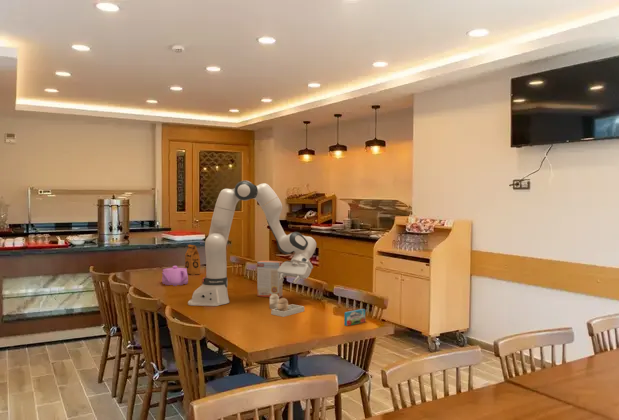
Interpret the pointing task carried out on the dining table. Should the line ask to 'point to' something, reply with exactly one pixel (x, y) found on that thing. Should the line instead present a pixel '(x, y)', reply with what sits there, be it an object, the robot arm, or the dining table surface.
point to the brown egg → (283, 305)
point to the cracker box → (269, 279)
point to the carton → (291, 310)
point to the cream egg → (274, 301)
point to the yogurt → (354, 317)
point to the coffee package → (192, 260)
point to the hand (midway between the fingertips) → (287, 282)
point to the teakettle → (175, 276)
